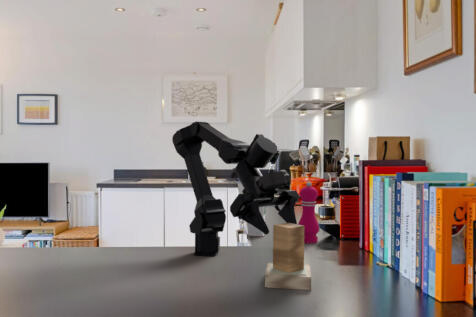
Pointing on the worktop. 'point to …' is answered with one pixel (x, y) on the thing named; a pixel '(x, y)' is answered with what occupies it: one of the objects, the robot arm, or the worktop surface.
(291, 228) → the oak block
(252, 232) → the syrup box
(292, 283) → the plinth
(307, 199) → the pepper mill
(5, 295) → the worktop surface
